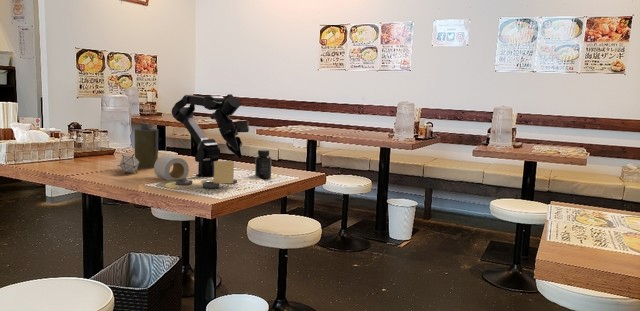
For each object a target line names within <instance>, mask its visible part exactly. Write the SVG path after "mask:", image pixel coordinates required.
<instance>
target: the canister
mask: <svg viewBox="0 0 640 311" xmlns="http://www.w3.org/2000/svg"><path fill="white" fill-rule="evenodd" d="M139 125H140V128H134V129H133V130H134V157H135V158H136V159H137V160H138V161H139V162H140V161H142V162H141V163H139V166H138V168H137V169H154V164H155V162H156V160H157V159H158V158H159V129H158V128H152V123H151V122H149V123H148V122H140V124H139Z"/></svg>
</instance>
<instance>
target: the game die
mask: <svg viewBox="0 0 640 311" xmlns="http://www.w3.org/2000/svg"><path fill="white" fill-rule="evenodd" d="M121 156H122V158H121V161H120V163H119V165H118V164H117V167H120V168H121V169H122V170H123V171H124V174H125V175H126V174H127V173H136V174H138V171H137V170H138V169H139V168H138V166H139V163H141V162H142V161H140V162H139V161H138V160H137V159H136V158H135V153H133V154H132V155H124V154H122V155H121Z"/></svg>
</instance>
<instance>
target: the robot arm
mask: <svg viewBox="0 0 640 311" xmlns="http://www.w3.org/2000/svg"><path fill="white" fill-rule="evenodd" d="M196 106H201V107H203V108H204V109H206V110H209V111H214V112H212V114H211V116H210V120H215V122H216V124H217V127H218V131H219V132H220V133H219V134H220V135H221V137H222V139H223V140H224V141H225V145H226V148H227V149H228V151H230V152H231V153H232V154H234V156H236V157H237V159H239V160H241V159H243V156H242V151H241V147H242V146H243V142H242V140H241V137H240V136H237V135H239V133H248V132H249V130H250V128H249V122H248V120H237V121H233V120H232V119H231V116H232V115H234V113H235V112H237V110H238V109H239V108H240V106H241V101H240V100H239V99H238V98H237V97H235V96H233V94H232V93H231V94H227V95H226V96H225V98H224V97H223V96H219V95H213V96H212V95H209V96H207V95H206V96H198V95H194V94H184V95H183V97H182V98H181V99H180V100H178V101H177V102H176V103H174V105H173V107H172V109H171V115H172V117H173V118H174V119H175V120H176V121H177V122H179V123H180V124H183V125H184V128H186V130H187V132H188V133H189V134H190V136H191V137H192V139H193V140H194V142H195V143H196V146H197V152H196V154H195V156H194V160H195V161H194V162H197V163H198V165H197V166H198V168H197V169H198V172H197V174H195V176H198V177H202V178H210V177H214V161H219V158H220V154H221V148H220V146H219V144H218V143H217V141H216V140H215V139H214V138H208V137H207V136H206V135H205V133H204V131H203V130H202V129H201V127H200V126H199V125H198V123H197V121H196V120H195V119H194V112H195V110H196Z"/></svg>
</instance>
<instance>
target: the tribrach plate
mask: <svg viewBox="0 0 640 311" xmlns="http://www.w3.org/2000/svg"><path fill="white" fill-rule="evenodd" d="M204 182H212V180H209V179H203V180H201V183H202V184H203V183H204ZM222 184H224V185H233V184H234V185H235V184H238V180H237V179H235V178H233V183H222ZM175 185H176V186H192V185H193V180H190V179H176V180H175Z"/></svg>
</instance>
